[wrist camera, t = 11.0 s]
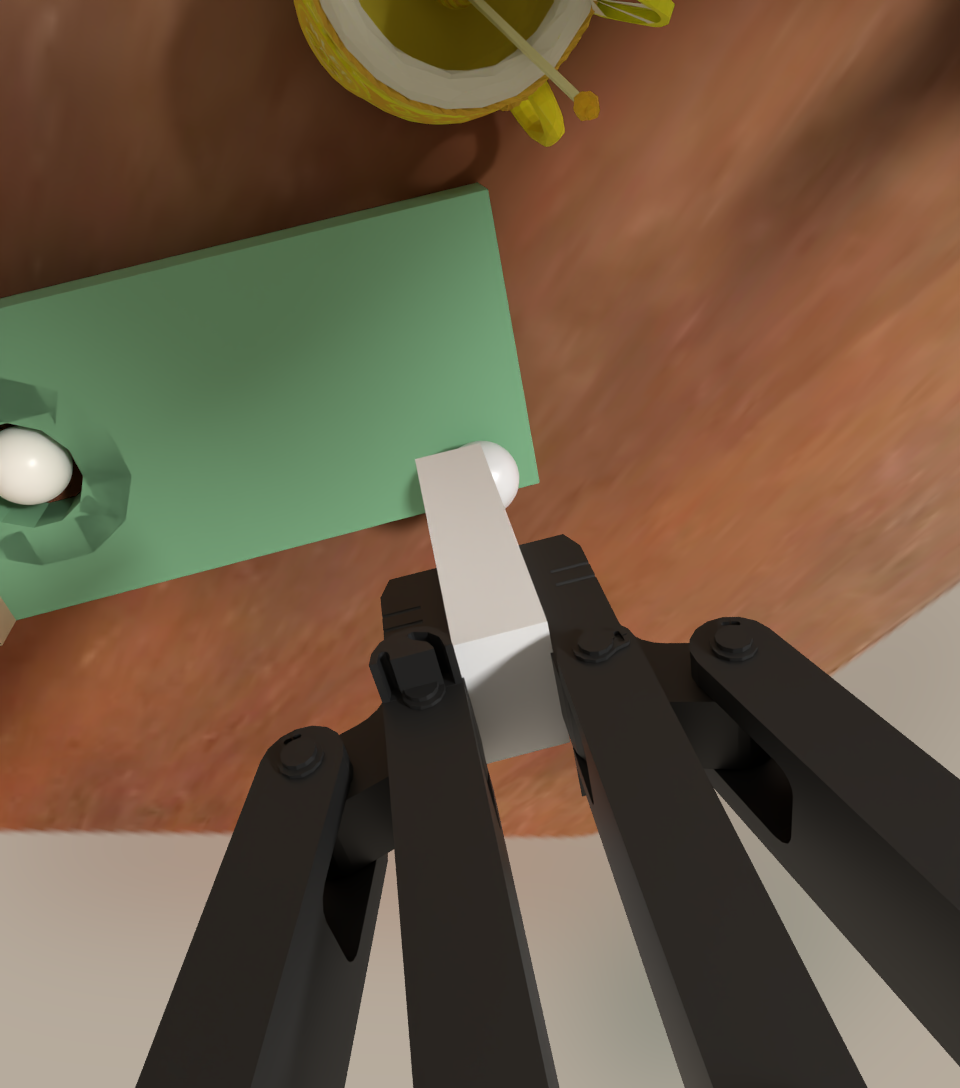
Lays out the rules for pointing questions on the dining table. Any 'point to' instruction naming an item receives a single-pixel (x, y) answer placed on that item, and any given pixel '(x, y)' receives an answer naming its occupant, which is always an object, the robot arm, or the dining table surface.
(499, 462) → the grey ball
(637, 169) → the dining table surface
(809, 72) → the dining table surface
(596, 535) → the dining table surface
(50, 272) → the dining table surface
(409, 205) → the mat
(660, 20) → the mug
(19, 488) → the ball
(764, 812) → the robot arm
